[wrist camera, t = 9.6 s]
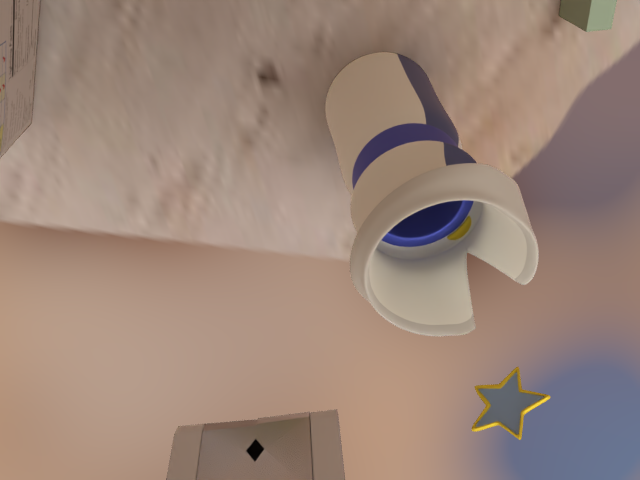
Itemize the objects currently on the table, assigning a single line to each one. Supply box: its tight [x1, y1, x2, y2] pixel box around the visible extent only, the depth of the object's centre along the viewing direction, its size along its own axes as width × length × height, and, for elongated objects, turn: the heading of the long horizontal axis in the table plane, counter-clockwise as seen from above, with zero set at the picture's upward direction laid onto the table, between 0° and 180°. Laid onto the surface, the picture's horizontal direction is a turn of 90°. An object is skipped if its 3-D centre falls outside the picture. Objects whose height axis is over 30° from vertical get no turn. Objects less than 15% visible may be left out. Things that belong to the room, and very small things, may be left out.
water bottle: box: [325, 52, 550, 440], centre depth 30 cm, size 8×9×25 cm
